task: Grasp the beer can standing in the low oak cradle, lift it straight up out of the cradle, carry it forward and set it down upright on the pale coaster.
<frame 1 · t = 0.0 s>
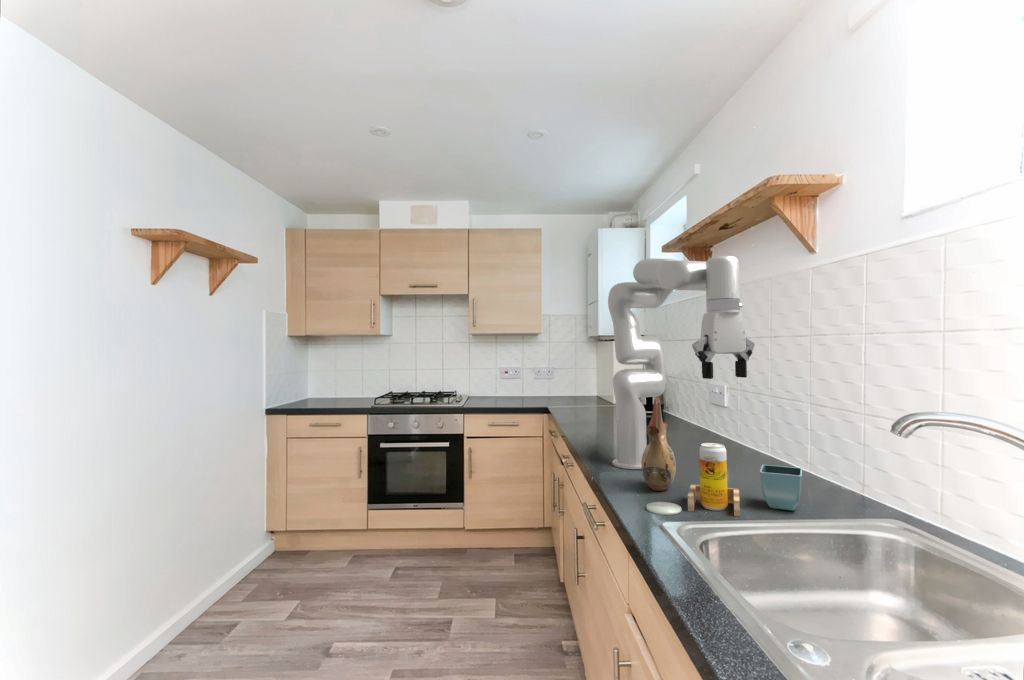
hand: (724, 377, 121), 31 cm above the table, tool pointing down, fingers open, 9 cm apart
cradle: (714, 507, 120), on the table
flower pot: (782, 507, 119), on the table
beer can: (714, 508, 120), on the table
ceramic vessel: (659, 489, 136), on the table
coaster: (663, 509, 119), on the table
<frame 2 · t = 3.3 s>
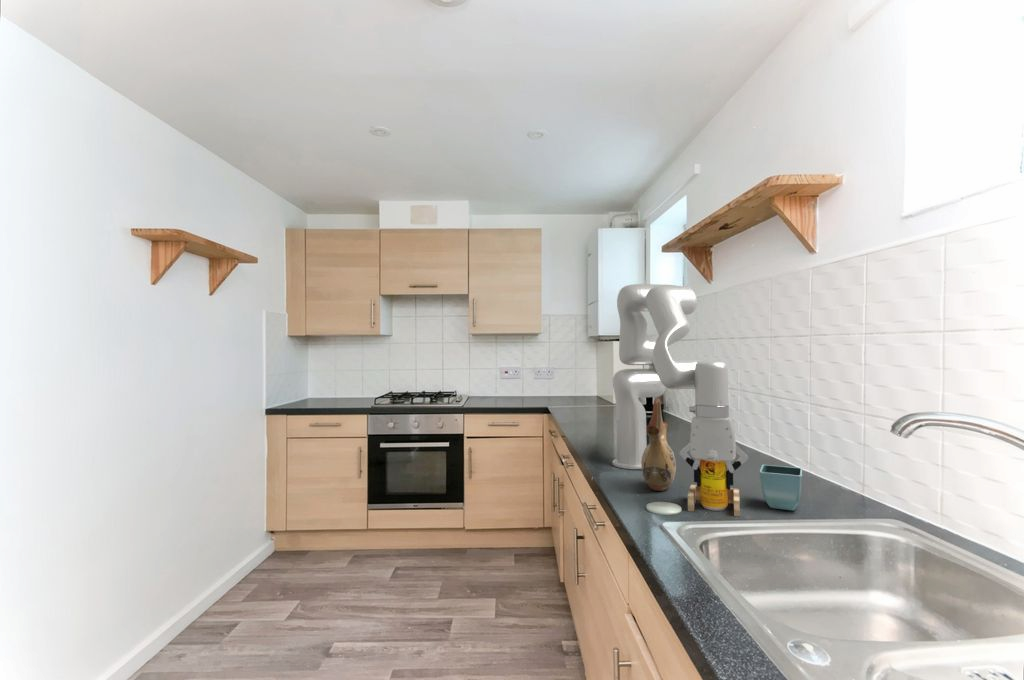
hand: (713, 485, 120), 5 cm above the table, tool pointing down, fingers closed on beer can, 6 cm apart
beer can: (714, 508, 120), on the table, touching gripper
everything else where it was.
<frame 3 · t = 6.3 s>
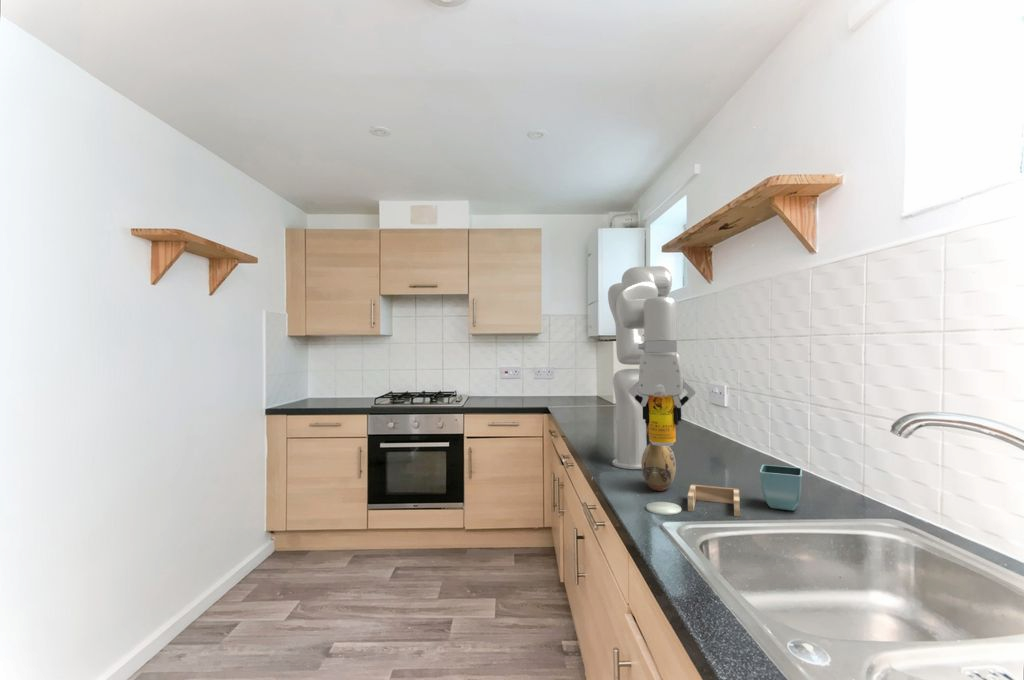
hand: (662, 422, 119), 21 cm above the table, tool pointing down, fingers closed on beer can, 6 cm apart
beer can: (662, 444, 119), point 15 cm above the table, touching gripper
everything else where it was.
when the fingers open (7 cm above the table, at t = 9.6 s): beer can stays where it is, resting on coaster.
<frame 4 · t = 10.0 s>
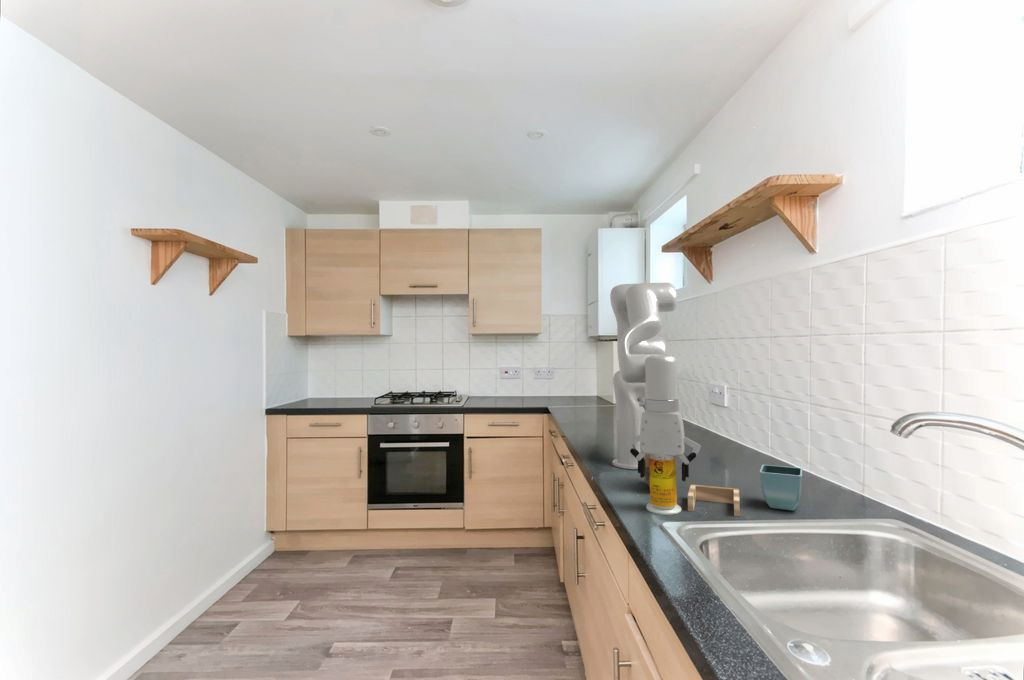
hand: (663, 478, 119), 7 cm above the table, tool pointing down, fingers open, 9 cm apart
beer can: (663, 507, 119), resting on coaster
everything else where it was.
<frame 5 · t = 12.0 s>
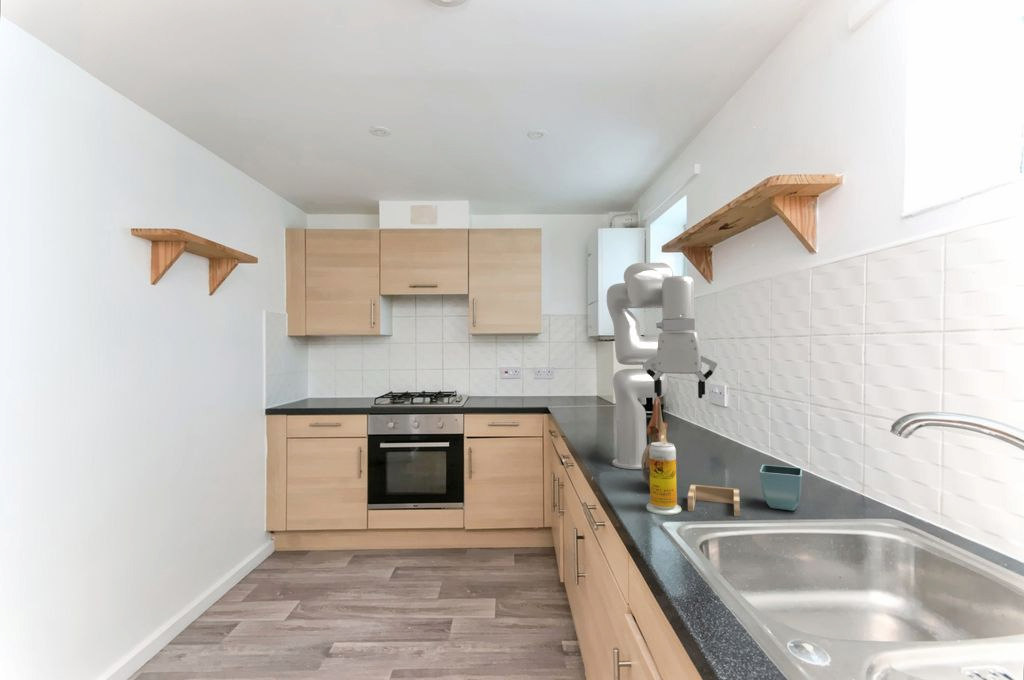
hand: (679, 396, 121), 27 cm above the table, tool pointing down, fingers open, 9 cm apart
nothing on the table moved.
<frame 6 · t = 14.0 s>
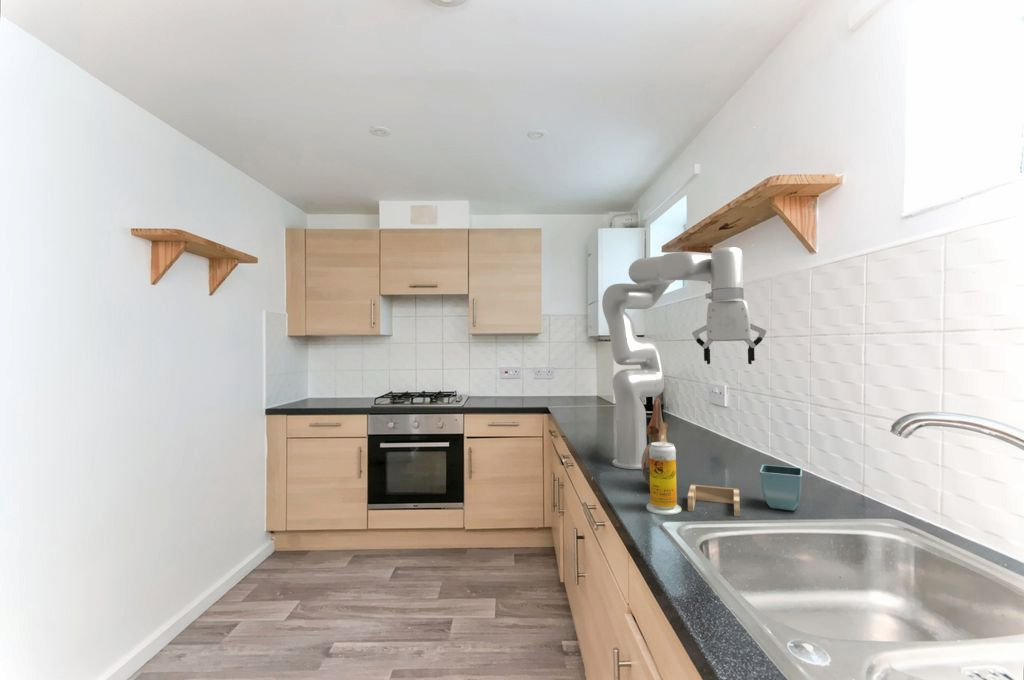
hand: (728, 364, 126), 34 cm above the table, tool pointing down, fingers open, 9 cm apart
nothing on the table moved.
at the end: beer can 0.2 cm from the coaster (horizontally); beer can tilted 0°; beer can touching coaster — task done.
